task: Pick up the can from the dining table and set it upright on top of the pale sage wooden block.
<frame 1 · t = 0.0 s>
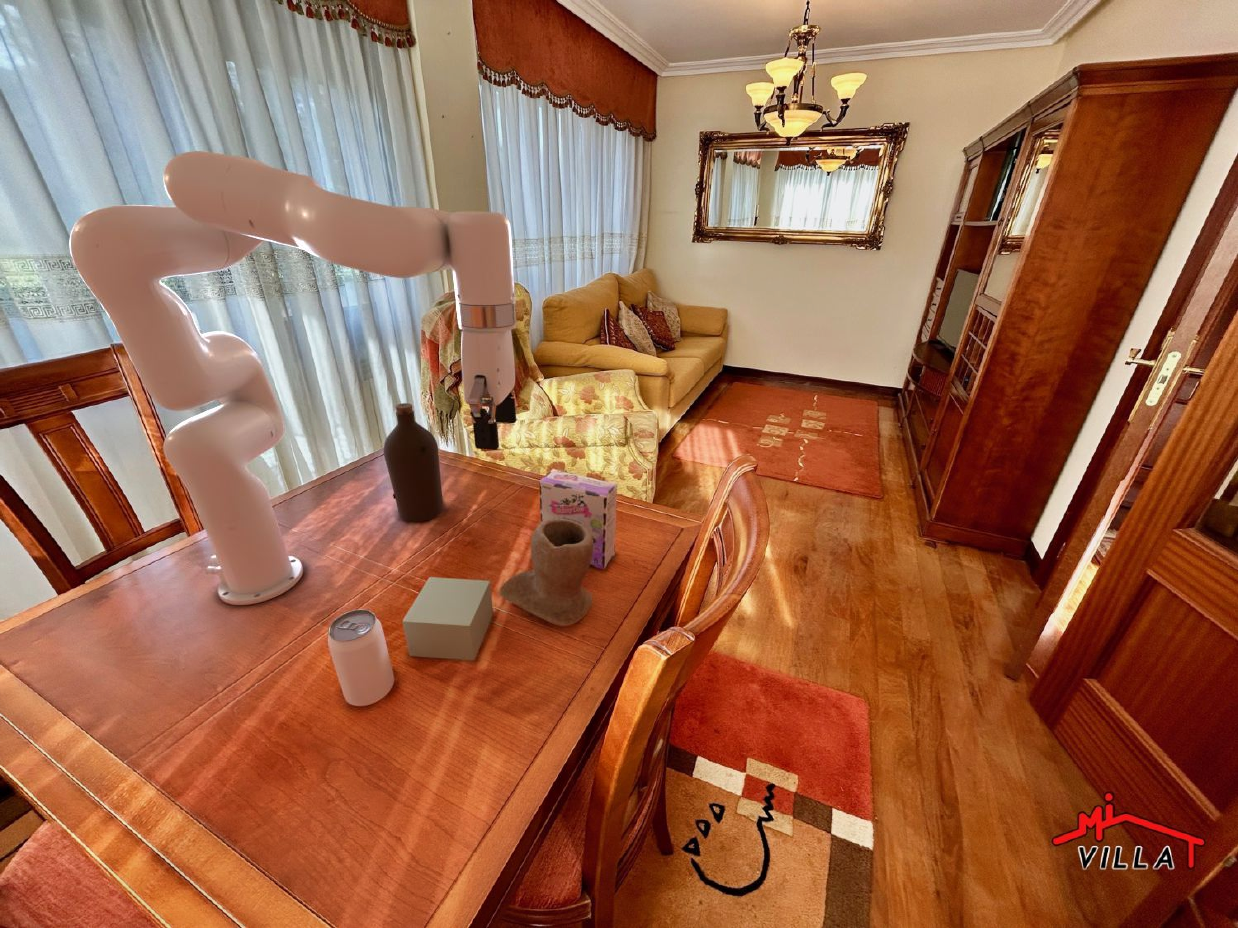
hand: (497, 434, 74), 31 cm above the table, tool pointing down, fingers open, 9 cm apart
olive oil: (421, 511, 112), on the table
candy box: (578, 554, 100), on the table
block: (453, 633, 80), on the table
stone cup: (553, 600, 88), on the table
can: (370, 688, 70), on the table
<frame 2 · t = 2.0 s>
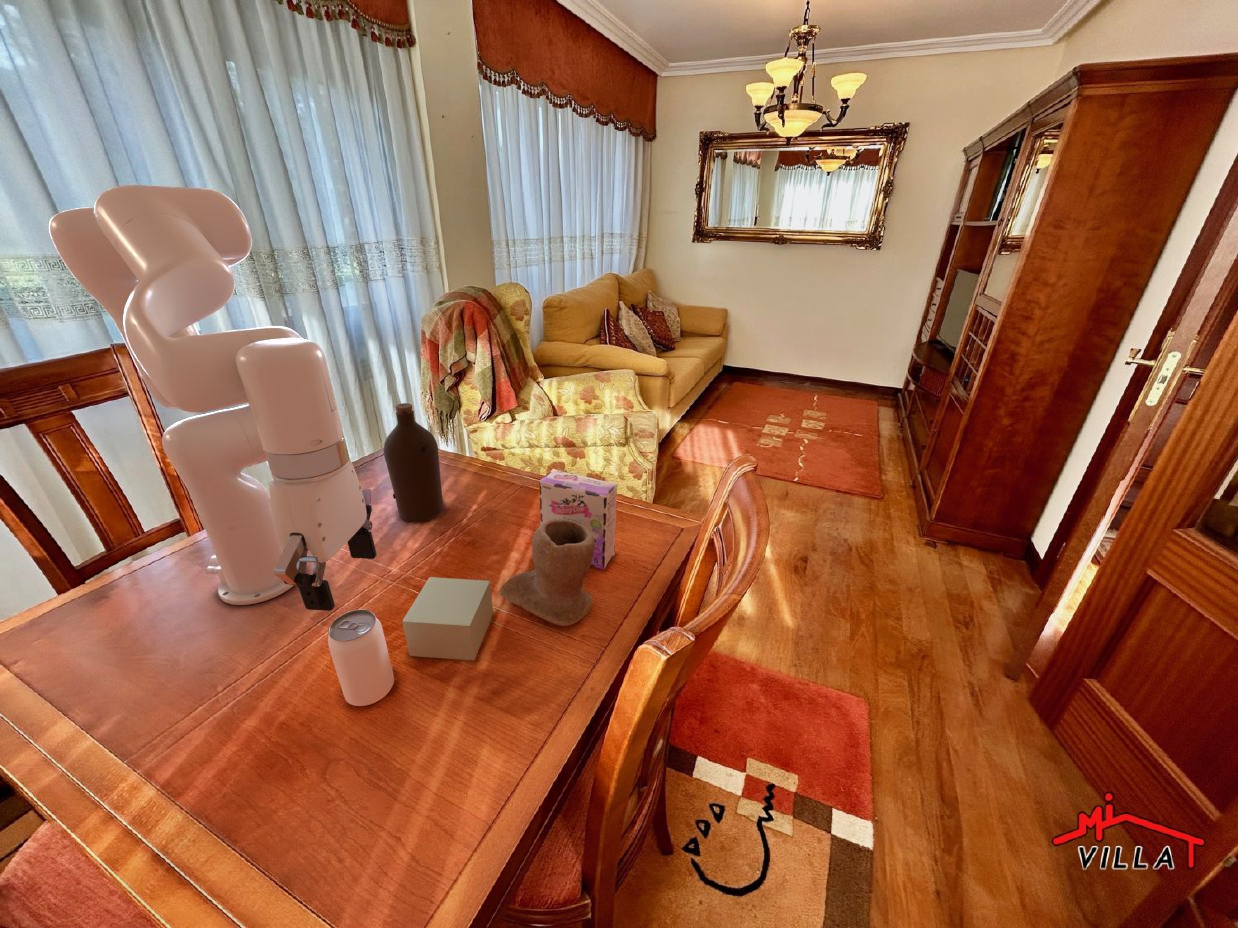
hand: (344, 581, 62), 19 cm above the table, tool pointing down, fingers open, 9 cm apart
nothing on the table moved.
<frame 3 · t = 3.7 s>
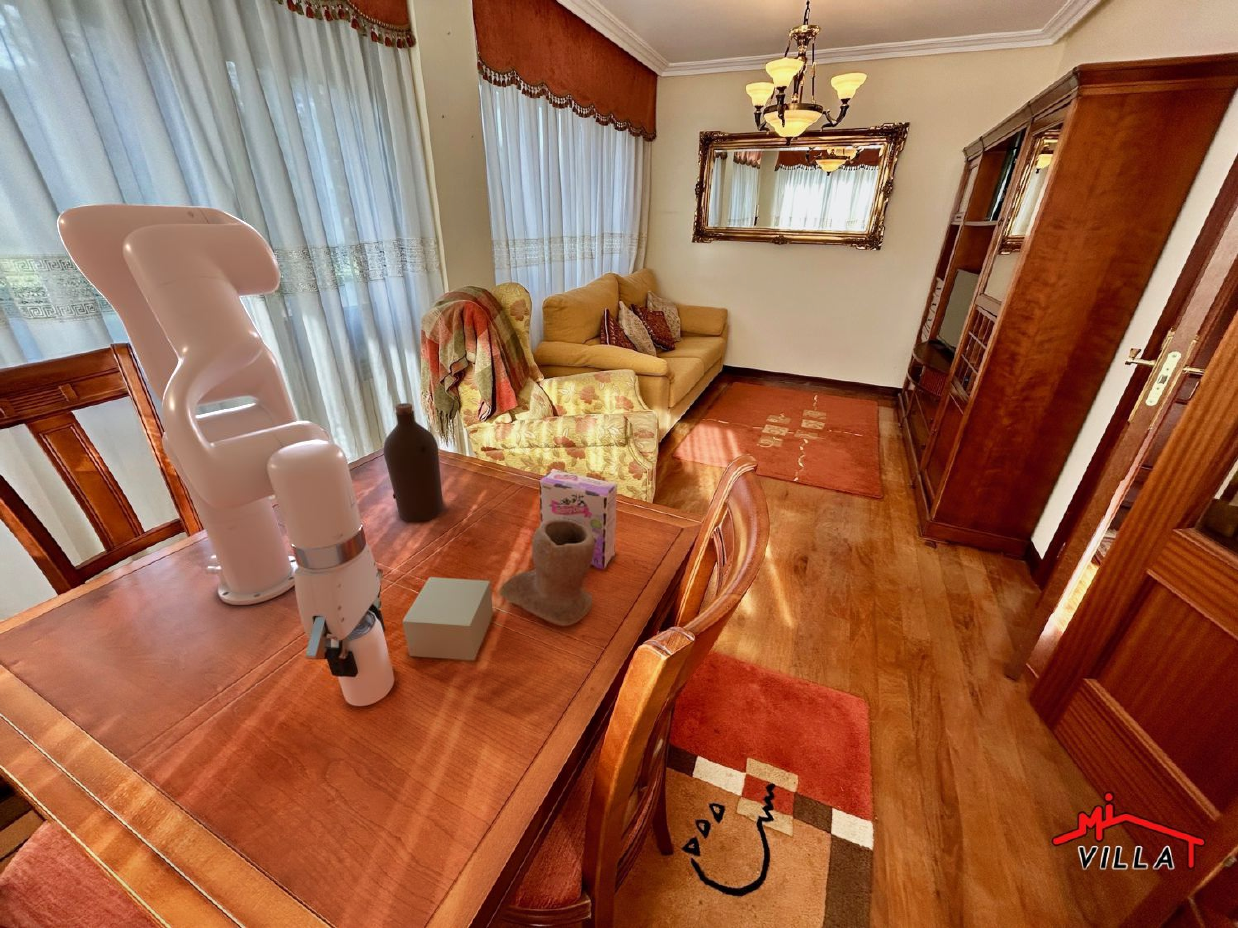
hand: (360, 651, 67), 7 cm above the table, tool pointing down, fingers closed on can, 6 cm apart
can: (370, 688, 70), on the table, touching gripper
everything else where it was.
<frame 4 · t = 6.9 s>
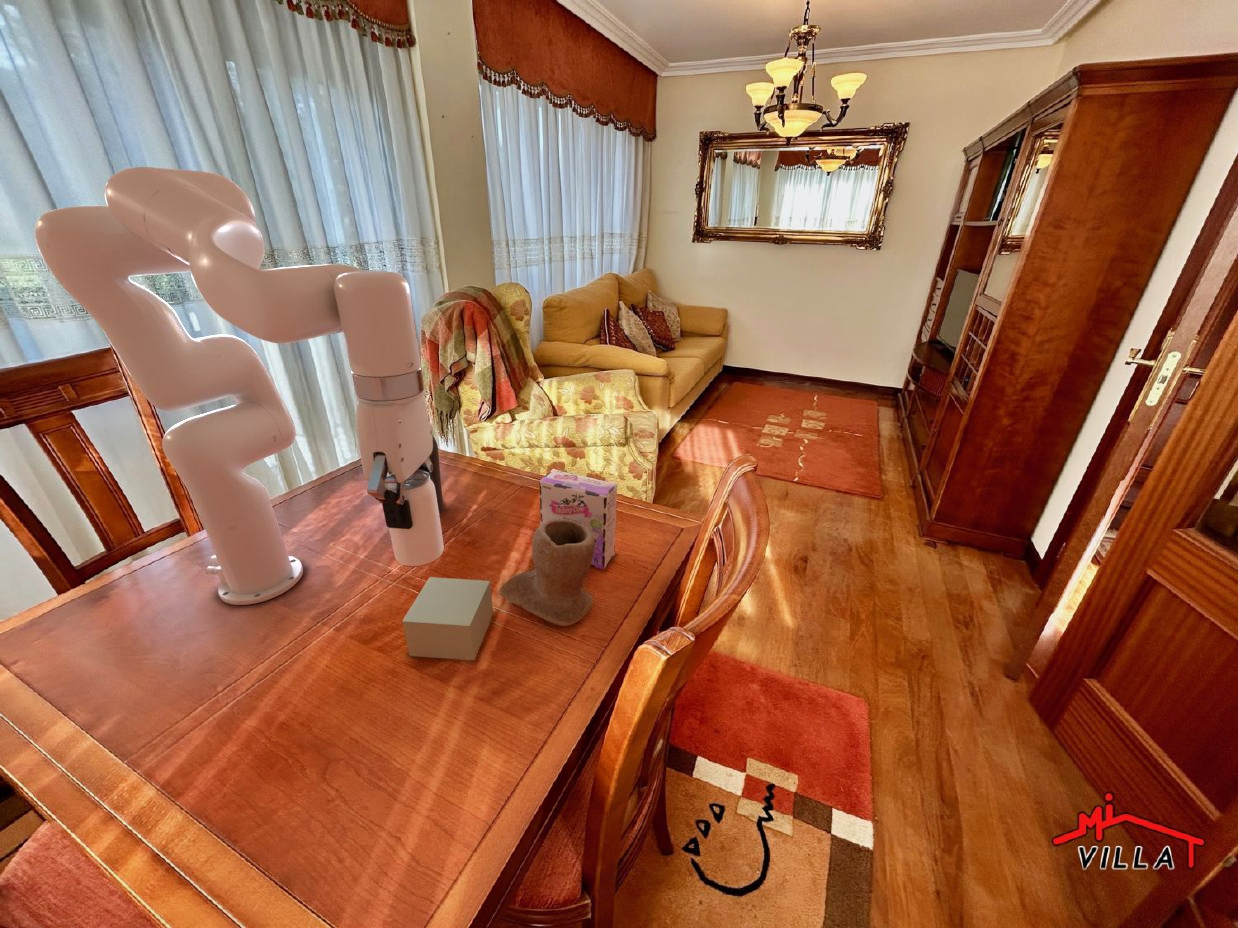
hand: (412, 511, 67), 24 cm above the table, tool pointing down, fingers closed on can, 6 cm apart
can: (420, 555, 70), point 17 cm above the table, touching gripper
everything else where it was.
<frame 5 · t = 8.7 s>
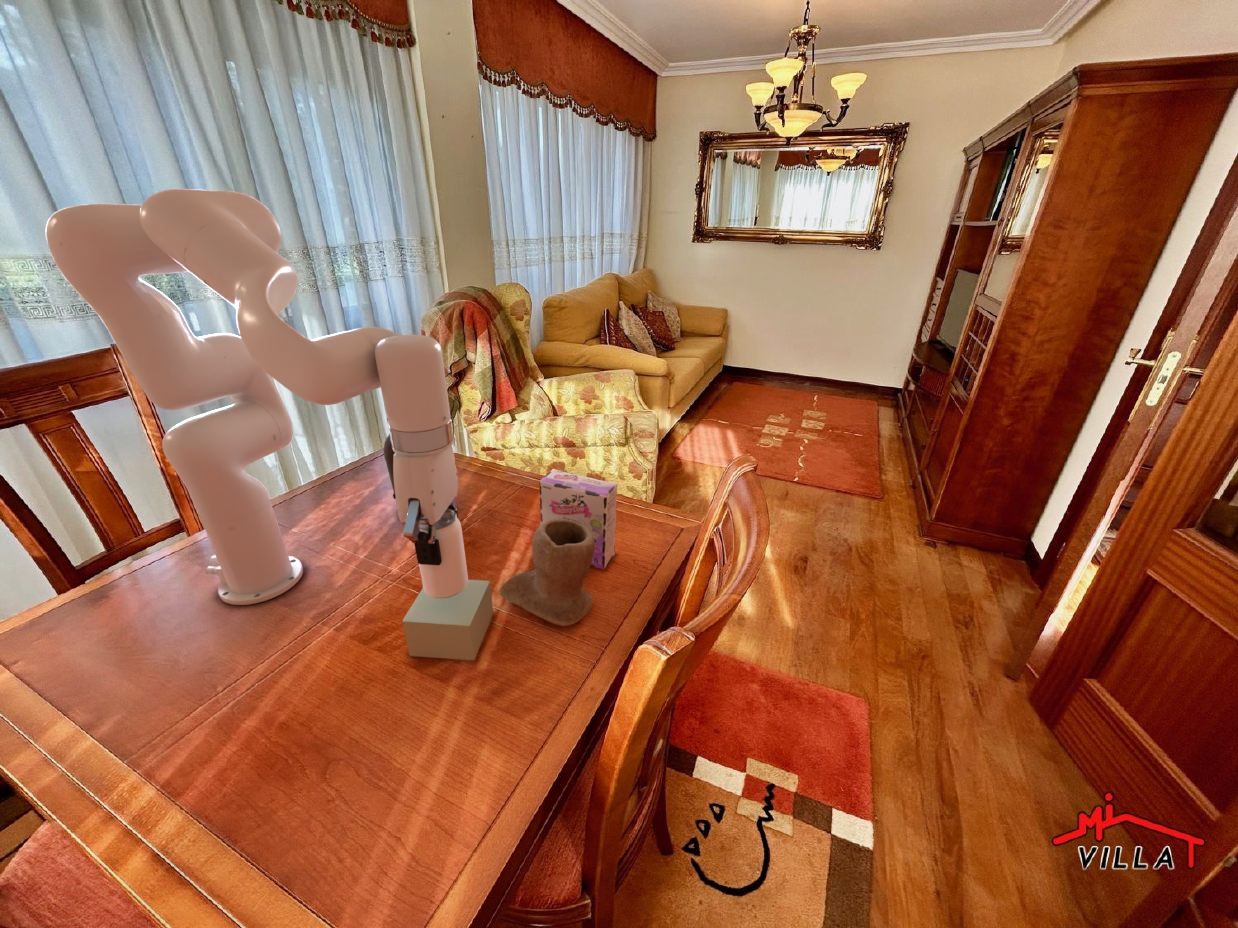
hand: (440, 547, 72), 17 cm above the table, tool pointing down, fingers closed on can, 6 cm apart
can: (446, 586, 76), point 10 cm above the table, touching gripper
everything else where it was.
when the fingers open (14 cm above the table, at t = 10.0 s): can stays where it is, resting on block.
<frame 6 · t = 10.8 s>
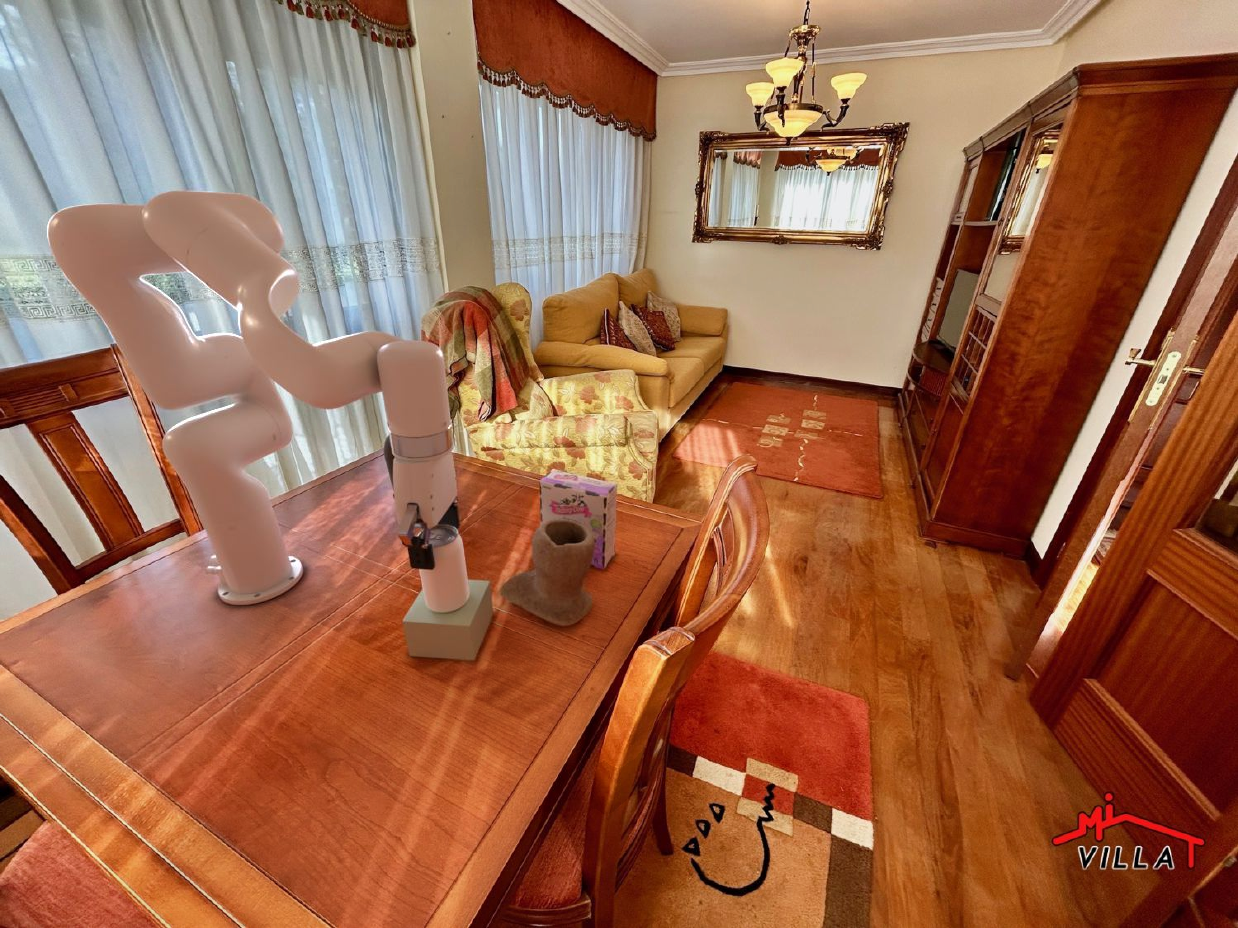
hand: (437, 546, 72), 17 cm above the table, tool pointing down, fingers open, 9 cm apart
can: (448, 600, 77), point 7 cm above the table, touching block
everything else where it was.
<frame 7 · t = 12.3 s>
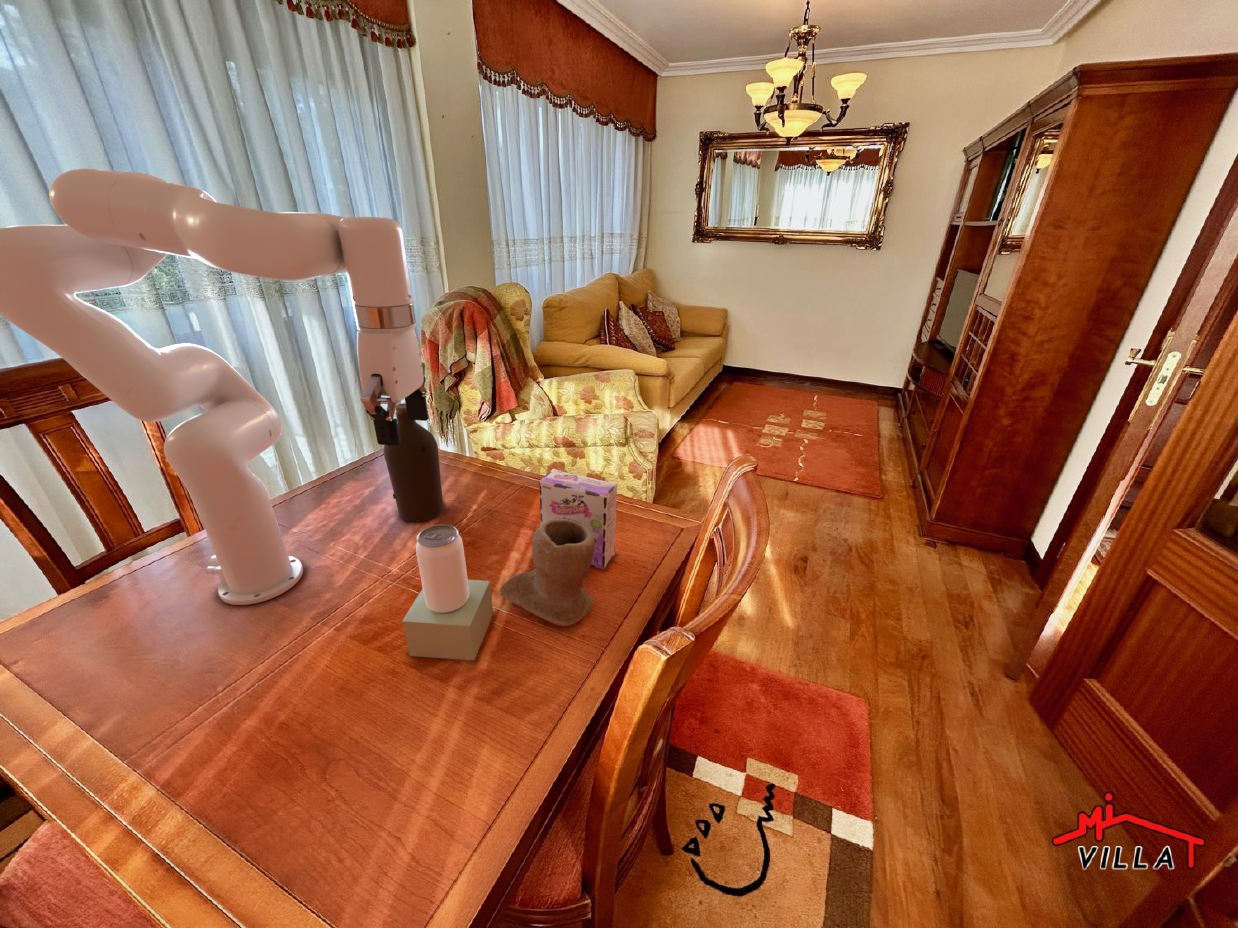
hand: (404, 431, 76), 30 cm above the table, tool pointing down, fingers open, 9 cm apart
nothing on the table moved.
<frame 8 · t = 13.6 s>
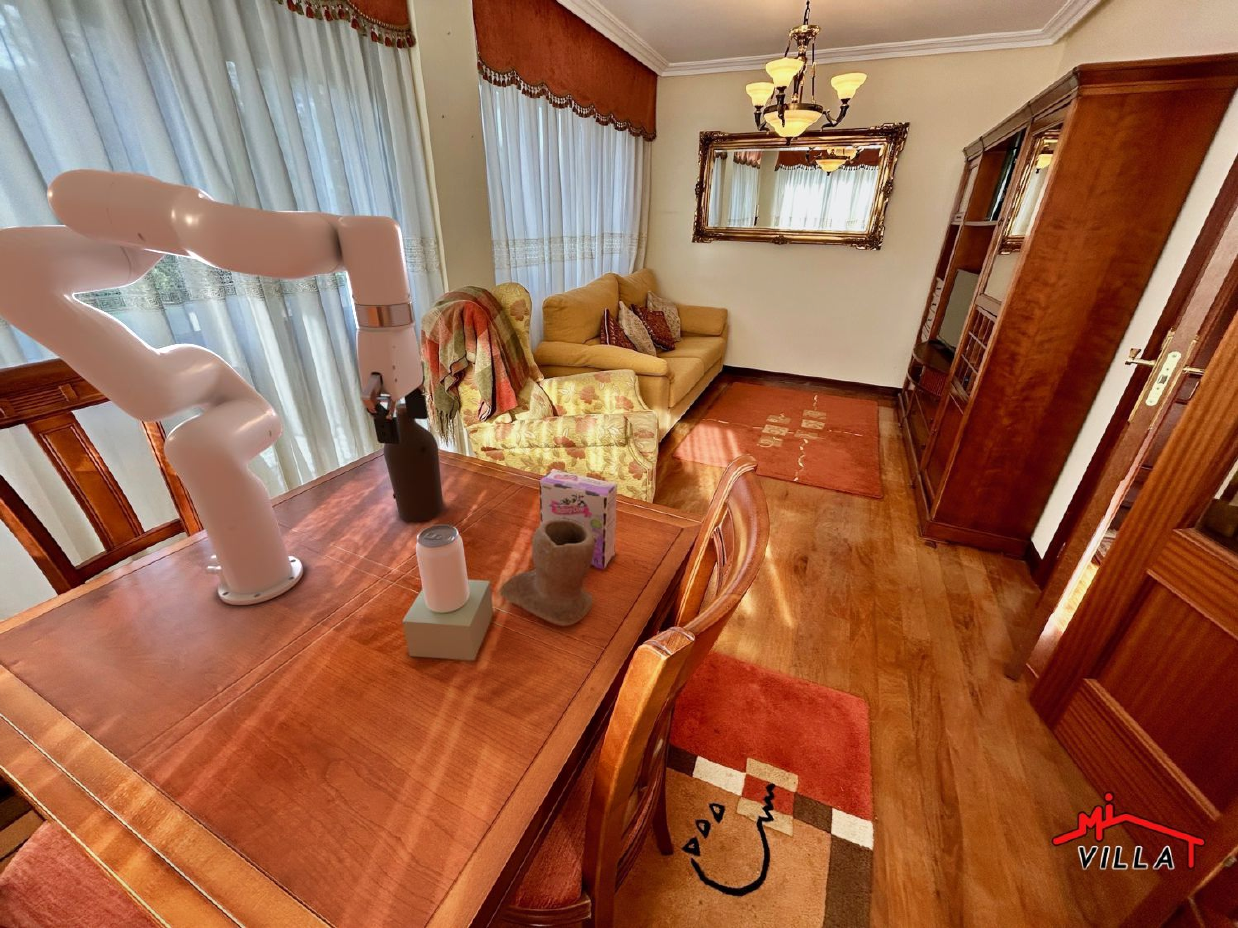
hand: (404, 429, 77), 30 cm above the table, tool pointing down, fingers open, 9 cm apart
nothing on the table moved.
at the end: can 0.0 cm off-centre on the block, point 6.8 cm above the block's base; can tilted 0°; the gripper is holding nothing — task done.
